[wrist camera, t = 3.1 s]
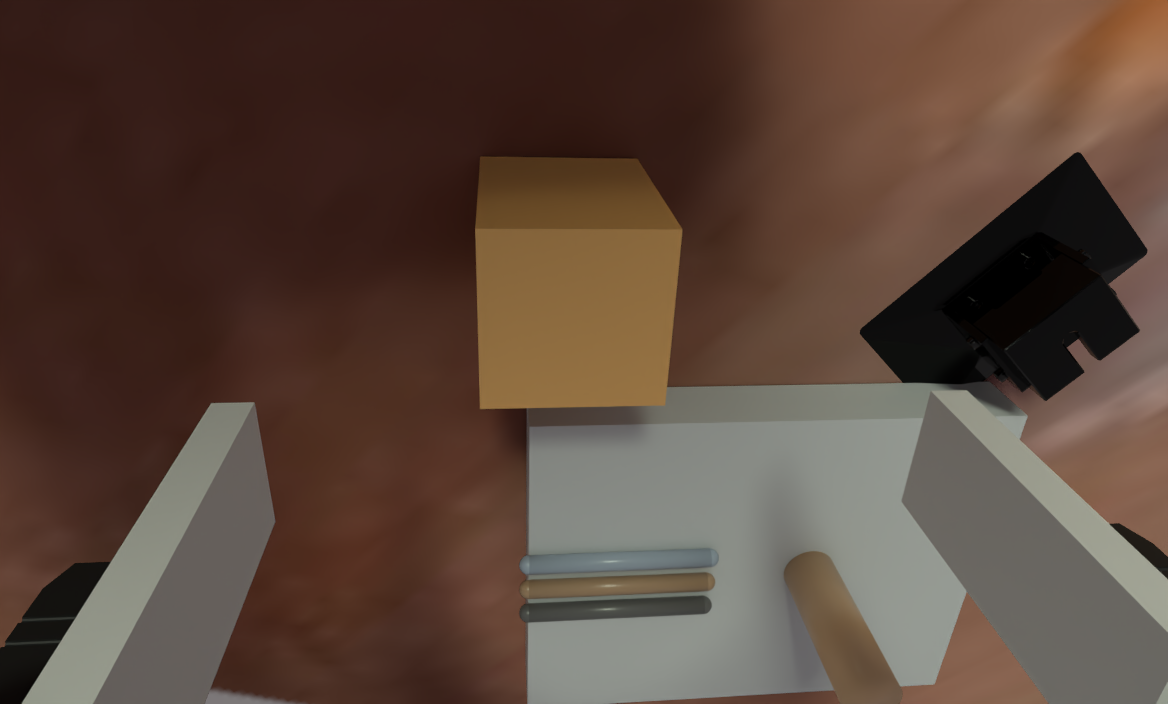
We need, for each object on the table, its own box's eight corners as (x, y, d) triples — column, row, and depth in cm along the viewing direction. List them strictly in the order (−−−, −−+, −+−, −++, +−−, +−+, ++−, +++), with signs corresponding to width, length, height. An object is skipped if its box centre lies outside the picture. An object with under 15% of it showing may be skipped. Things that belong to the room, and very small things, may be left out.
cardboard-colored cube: (483, 302, 27) (480, 409, 21) (480, 156, 25) (475, 229, 19) (627, 301, 28) (665, 405, 22) (637, 158, 25) (682, 229, 19)
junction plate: (517, 660, 35) (523, 855, 28) (517, 389, 29) (524, 547, 21) (908, 640, 37) (1012, 816, 30) (989, 381, 31) (1148, 524, 23)
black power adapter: (908, 440, 33) (966, 513, 29) (803, 333, 30) (851, 396, 26) (1183, 232, 29) (1294, 281, 25) (1094, 89, 26) (1203, 117, 22)
